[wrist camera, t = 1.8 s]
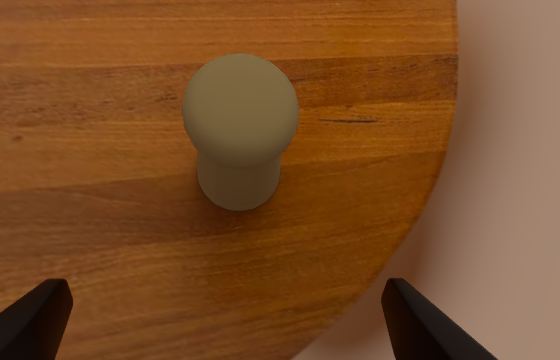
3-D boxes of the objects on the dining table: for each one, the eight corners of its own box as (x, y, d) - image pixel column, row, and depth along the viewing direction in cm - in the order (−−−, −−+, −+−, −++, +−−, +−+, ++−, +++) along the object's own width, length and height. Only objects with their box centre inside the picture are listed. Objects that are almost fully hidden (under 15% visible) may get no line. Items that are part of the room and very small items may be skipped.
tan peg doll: (246, 116, 25) (255, 6, 14) (297, 177, 24) (345, 109, 14) (179, 161, 23) (132, 75, 13) (230, 228, 23) (227, 196, 12)
